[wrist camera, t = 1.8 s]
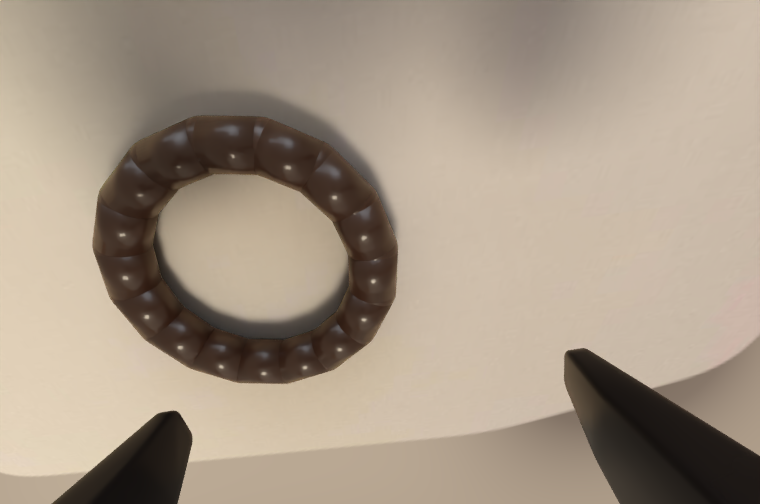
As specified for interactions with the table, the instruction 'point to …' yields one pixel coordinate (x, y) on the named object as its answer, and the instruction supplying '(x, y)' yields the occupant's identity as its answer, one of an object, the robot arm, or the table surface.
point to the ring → (245, 157)
